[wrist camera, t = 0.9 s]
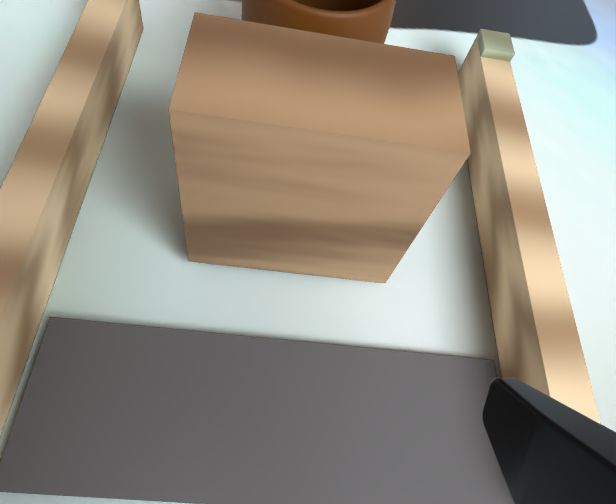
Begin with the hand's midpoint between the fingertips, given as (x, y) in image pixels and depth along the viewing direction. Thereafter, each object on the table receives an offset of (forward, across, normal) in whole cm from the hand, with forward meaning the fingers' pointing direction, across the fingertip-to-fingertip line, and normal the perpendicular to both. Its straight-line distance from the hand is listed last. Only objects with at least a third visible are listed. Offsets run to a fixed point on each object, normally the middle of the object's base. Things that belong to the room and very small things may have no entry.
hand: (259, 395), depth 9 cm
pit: (+10, -2, +9) cm, 13 cm away
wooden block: (+17, -2, +3) cm, 18 cm away
